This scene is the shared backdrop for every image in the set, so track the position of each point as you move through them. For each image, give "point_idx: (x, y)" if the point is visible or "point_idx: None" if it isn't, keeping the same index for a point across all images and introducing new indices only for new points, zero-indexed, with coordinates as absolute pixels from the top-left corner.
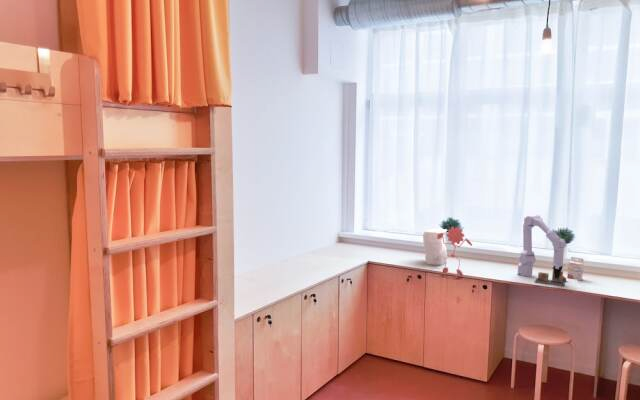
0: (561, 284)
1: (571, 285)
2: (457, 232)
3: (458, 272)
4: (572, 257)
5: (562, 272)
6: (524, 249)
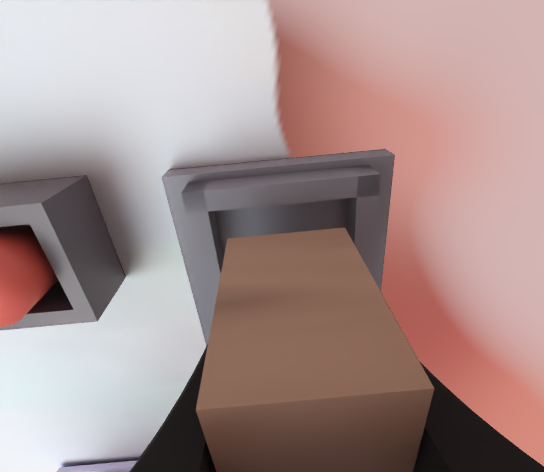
0: (374, 210)
1: (120, 68)
2: None
3: None
4: None
5: (393, 398)
6: None
